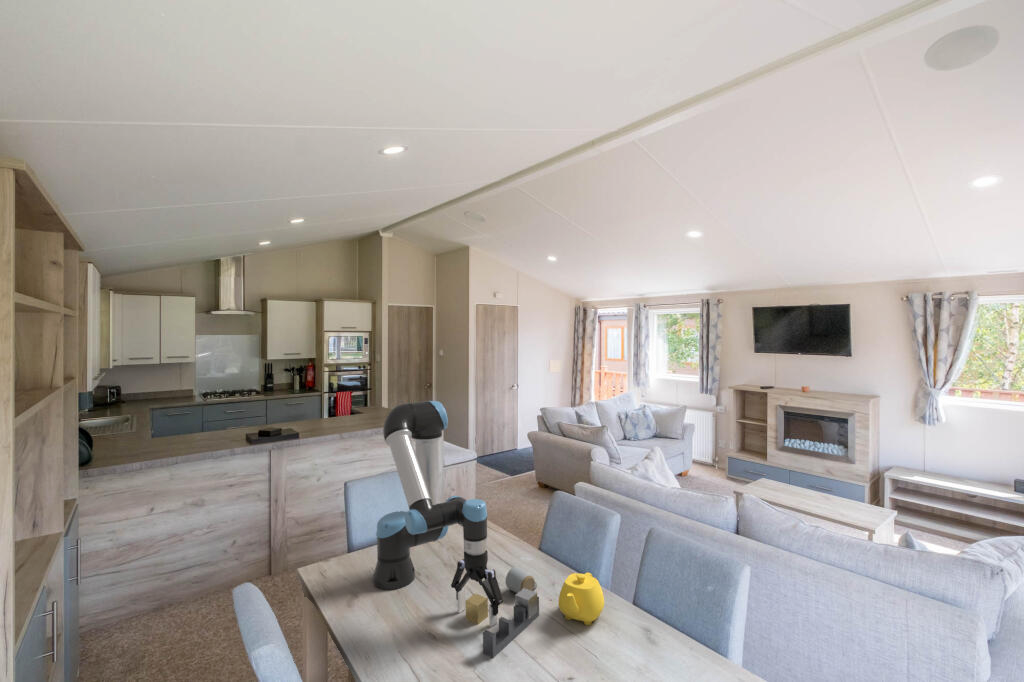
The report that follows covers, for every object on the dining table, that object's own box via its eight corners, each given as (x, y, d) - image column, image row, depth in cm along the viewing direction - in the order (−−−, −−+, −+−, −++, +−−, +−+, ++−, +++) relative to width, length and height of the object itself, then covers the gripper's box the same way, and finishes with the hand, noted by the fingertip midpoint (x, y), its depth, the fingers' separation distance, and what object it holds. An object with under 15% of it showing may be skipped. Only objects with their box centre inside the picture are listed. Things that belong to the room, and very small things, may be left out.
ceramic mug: (521, 601, 160) (521, 578, 160) (505, 592, 166) (505, 570, 166) (542, 589, 168) (542, 568, 167) (526, 581, 173) (526, 560, 173)
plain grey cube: (515, 614, 149) (515, 595, 149) (524, 606, 153) (524, 588, 153) (528, 619, 146) (528, 600, 146) (537, 611, 150) (537, 592, 150)
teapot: (610, 606, 156) (610, 568, 156) (590, 641, 139) (589, 598, 138) (571, 596, 163) (570, 559, 163) (547, 628, 145) (546, 587, 145)
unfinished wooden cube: (465, 619, 151) (465, 600, 151) (476, 611, 155) (475, 593, 155) (478, 624, 148) (477, 605, 148) (488, 616, 152) (487, 598, 152)
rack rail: (483, 653, 134) (482, 632, 134) (529, 611, 154) (529, 593, 154) (493, 658, 132) (492, 636, 132) (539, 615, 152) (538, 596, 152)
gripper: (439, 545, 155) (440, 610, 155) (499, 565, 141) (500, 637, 141) (454, 537, 161) (456, 599, 161) (513, 555, 147) (515, 624, 147)
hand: (477, 617), depth 151 cm, fingers open, 12 cm apart
